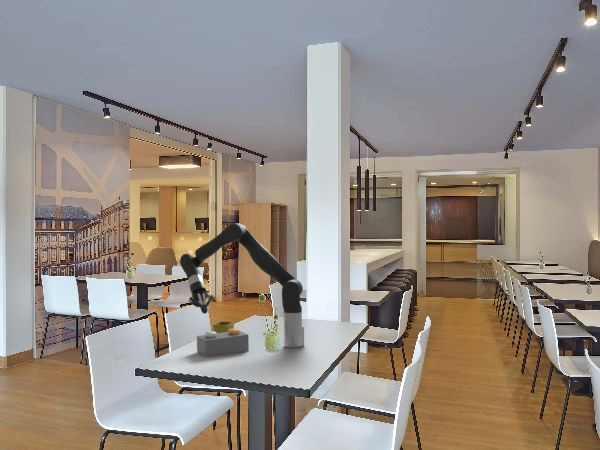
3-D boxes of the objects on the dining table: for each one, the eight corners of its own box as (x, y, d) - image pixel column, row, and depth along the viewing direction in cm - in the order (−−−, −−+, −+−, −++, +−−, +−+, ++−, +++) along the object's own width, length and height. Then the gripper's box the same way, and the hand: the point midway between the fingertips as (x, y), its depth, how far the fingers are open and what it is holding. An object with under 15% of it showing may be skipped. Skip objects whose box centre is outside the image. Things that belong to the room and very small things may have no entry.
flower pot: (227, 342, 254) (227, 325, 254) (212, 341, 257) (212, 324, 257) (234, 338, 263) (234, 322, 263) (220, 337, 265) (220, 321, 266)
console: (238, 346, 245) (238, 330, 245) (248, 350, 235) (248, 334, 235) (197, 352, 234) (196, 336, 234) (205, 357, 223) (205, 340, 223)
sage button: (214, 340, 235) (214, 330, 235) (218, 342, 230) (217, 332, 230) (204, 341, 232) (203, 332, 232) (207, 343, 228) (207, 334, 228)
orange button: (236, 336, 241) (236, 327, 241) (241, 338, 236) (240, 329, 236) (227, 338, 238) (227, 329, 238) (231, 340, 234) (231, 331, 234)
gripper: (185, 281, 242) (194, 309, 231) (210, 279, 249) (219, 306, 238) (182, 291, 246) (190, 318, 236) (207, 289, 253) (216, 315, 243)
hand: (205, 312), depth 237 cm, fingers closed
